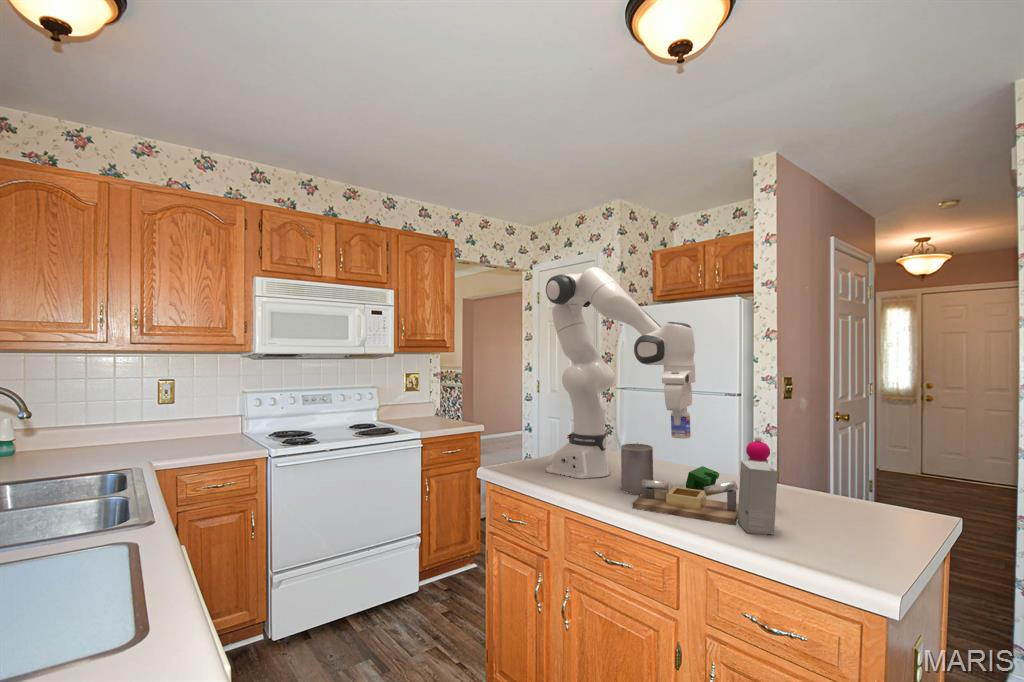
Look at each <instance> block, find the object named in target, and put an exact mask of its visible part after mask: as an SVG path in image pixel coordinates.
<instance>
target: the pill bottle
mask: <svg viewBox="0 0 1024 682" xmlns="http://www.w3.org/2000/svg"><path fill="white" fill-rule="evenodd" d="M686 409H687V411H686ZM670 426H671V427H670V431H671V438H673V439H674V438H675V439H690V438H691V435H692V434H691V433H692V432H691V415H690V412H689V411H688V407H687V404H686V407H685V408H684V409H681V425H675V424H674V417H673V411H671V412H670Z"/></svg>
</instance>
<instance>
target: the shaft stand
mask: <svg viewBox="0 0 1024 682" xmlns="http://www.w3.org/2000/svg"><path fill="white" fill-rule="evenodd" d="M642 487H645V488H646V491H645V492H644V493H643V494H640V495H639V496H638V497H637V498H636V499H635V500H634V501H633V502H632V503H631V504H632V509H635V508H637V509H636V510H641V509H644V510H643V511H647V510H650V511H649V512H653V511H656V512H655V513H659V512H661V513H660V514H665V513H667V514H666V515H671V514H672V515H673V516H677V515H678V516H679V517H683V516H684V517H683V518H689V517H690V519H695V518H696V520H702V521H708V522H713V523H722V524H725V523H726V524H727V525H732V526H736V523H737V522H738V520H737V519H738V503H737V491H738V490H739V488H738V485H737V482H736V480H730V481H726V482H722V483H717V484H716V483H715V485H711V486H707V487H704V490H701V489H688V488H686V487H679V486H673V487H672V488H671V489H670V483H669V481H663V480H657V479H653V480H650V479H643V480H642ZM669 489H670V490H669ZM655 490H660V491H666V492H667V491H668V492H667V493H666V492H659V491H655ZM723 493H726V501H723V500H722V501H721V500H713V499H707V497H709V496H715V495H719V494H723ZM678 516H677V517H678Z"/></svg>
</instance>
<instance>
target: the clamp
mask: <svg viewBox="0 0 1024 682" xmlns="http://www.w3.org/2000/svg"><path fill="white" fill-rule="evenodd" d="M719 477H720V472H718V471H716V470H713V469H711V468H709V467H706V466H703V465H702V466H700V467H697V468H694V469H693V470H691V471H689V472H688V475H687V477H686V478H687V479H686V482H685V487H684V488H688V489H695V490H697V489H698V490H702V491H704V487H707V486H711V485H716V483H717V480H718V479H719ZM696 488H697V489H696Z"/></svg>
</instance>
